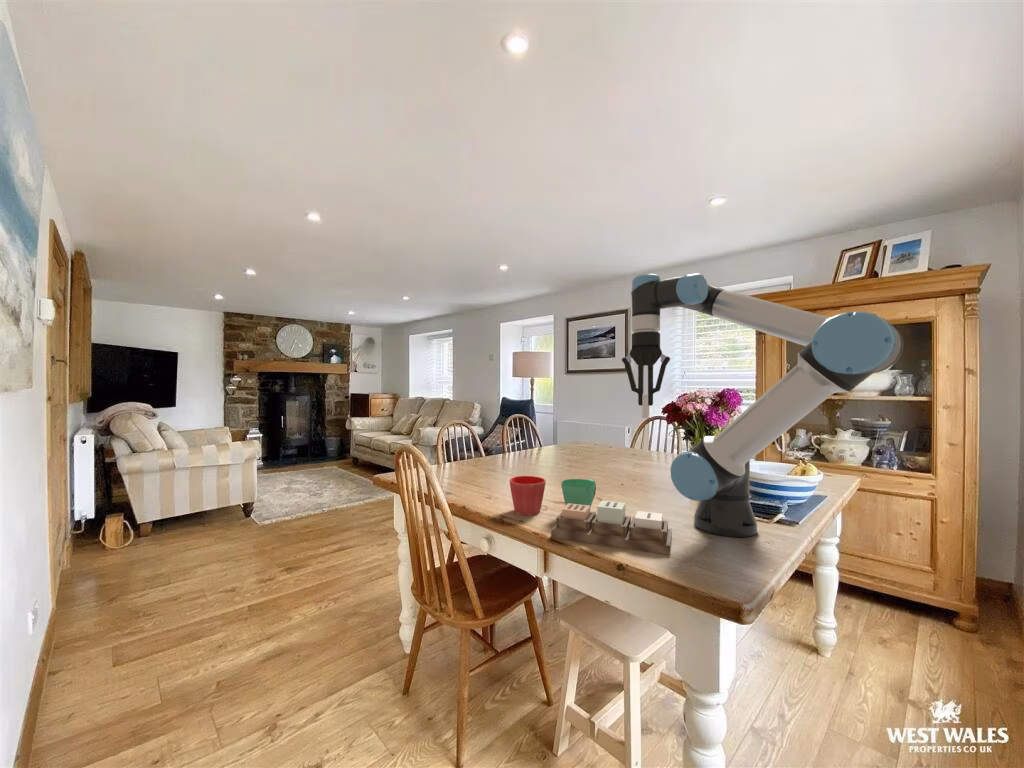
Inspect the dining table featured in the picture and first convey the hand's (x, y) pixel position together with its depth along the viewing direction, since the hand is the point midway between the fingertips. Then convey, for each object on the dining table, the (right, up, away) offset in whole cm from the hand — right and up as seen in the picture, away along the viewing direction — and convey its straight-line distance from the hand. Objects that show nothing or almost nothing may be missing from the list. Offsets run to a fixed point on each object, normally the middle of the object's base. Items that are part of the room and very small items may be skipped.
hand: (645, 417), depth 116 cm
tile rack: (-12, -29, -10) cm, 33 cm away
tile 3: (-20, -27, -7) cm, 34 cm away
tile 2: (-12, -25, -10) cm, 30 cm away
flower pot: (-32, -30, +11) cm, 45 cm away
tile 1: (-3, -27, -14) cm, 30 cm away
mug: (-16, -30, +8) cm, 35 cm away
